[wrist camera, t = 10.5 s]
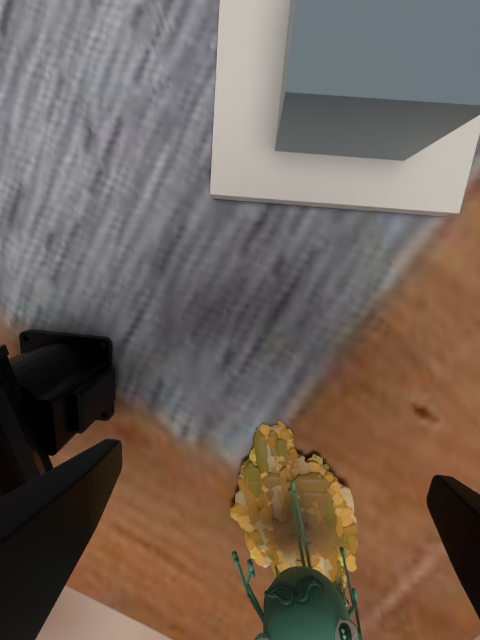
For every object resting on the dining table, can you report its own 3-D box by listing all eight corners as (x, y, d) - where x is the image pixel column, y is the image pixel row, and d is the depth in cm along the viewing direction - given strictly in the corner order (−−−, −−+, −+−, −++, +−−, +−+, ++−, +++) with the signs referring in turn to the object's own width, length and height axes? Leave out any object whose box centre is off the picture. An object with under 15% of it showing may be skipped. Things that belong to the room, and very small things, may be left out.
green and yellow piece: (260, 600, 26) (251, 1008, 11) (213, 417, 24) (127, 628, 9) (368, 589, 25) (511, 1032, 10) (327, 396, 23) (431, 601, 8)
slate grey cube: (274, 150, 16) (285, 92, 10) (291, -8, 14) (315, -194, 8) (404, 160, 15) (493, 106, 10) (436, 0, 14) (570, -185, 8)
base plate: (213, 198, 18) (199, 182, 13) (227, -47, 15) (214, -170, 10) (442, 216, 17) (504, 205, 13) (502, -35, 14) (609, -159, 10)
